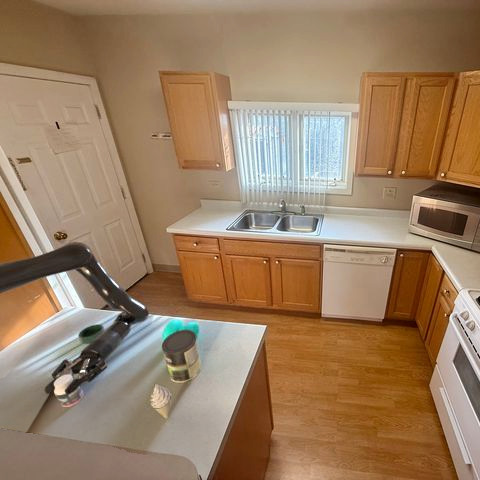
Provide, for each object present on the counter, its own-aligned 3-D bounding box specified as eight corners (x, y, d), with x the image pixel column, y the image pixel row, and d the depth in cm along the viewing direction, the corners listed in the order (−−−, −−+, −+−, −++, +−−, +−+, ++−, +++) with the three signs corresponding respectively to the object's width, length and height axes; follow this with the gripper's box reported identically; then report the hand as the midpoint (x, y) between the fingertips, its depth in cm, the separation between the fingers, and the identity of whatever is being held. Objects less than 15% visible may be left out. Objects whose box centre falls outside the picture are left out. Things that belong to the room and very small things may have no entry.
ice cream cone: (155, 417, 76) (143, 383, 70) (173, 406, 79) (163, 372, 73) (160, 430, 73) (148, 396, 67) (179, 418, 76) (169, 384, 70)
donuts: (187, 354, 97) (182, 335, 93) (163, 350, 98) (158, 330, 94) (202, 335, 106) (198, 316, 102) (180, 332, 107) (176, 313, 103)
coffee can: (173, 389, 84) (165, 358, 78) (166, 367, 91) (158, 338, 86) (205, 372, 90) (200, 342, 85) (197, 353, 97) (191, 325, 92)
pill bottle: (56, 405, 78) (45, 385, 74) (75, 389, 82) (65, 370, 79) (70, 409, 77) (59, 390, 73) (88, 393, 81) (78, 374, 78)
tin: (77, 346, 98) (74, 340, 97) (85, 332, 104) (83, 326, 103) (101, 341, 101) (99, 335, 100) (108, 328, 107) (105, 322, 106)
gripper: (78, 338, 88) (26, 382, 73) (120, 339, 88) (77, 384, 73) (85, 353, 91) (37, 399, 76) (125, 355, 91) (85, 401, 76)
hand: (57, 392), depth 74 cm, fingers closed on pill bottle, 5 cm apart
